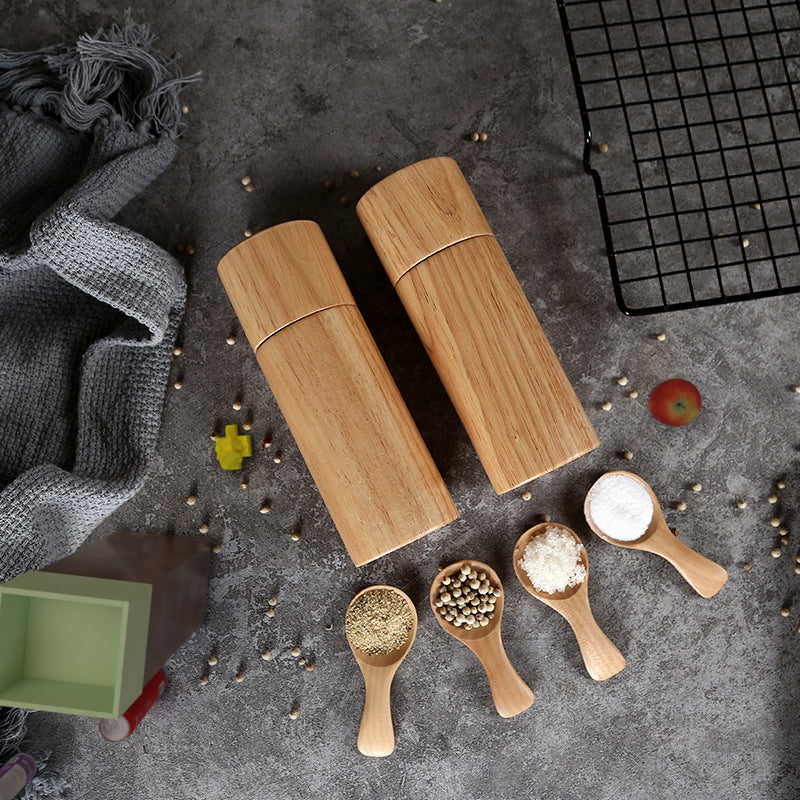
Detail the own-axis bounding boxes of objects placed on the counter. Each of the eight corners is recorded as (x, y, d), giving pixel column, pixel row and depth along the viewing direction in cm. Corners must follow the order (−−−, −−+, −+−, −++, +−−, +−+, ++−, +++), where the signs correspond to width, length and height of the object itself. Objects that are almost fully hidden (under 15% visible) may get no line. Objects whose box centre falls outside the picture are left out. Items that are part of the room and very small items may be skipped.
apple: (695, 392, 114) (722, 392, 104) (673, 432, 114) (698, 436, 104) (655, 370, 114) (677, 369, 104) (633, 411, 114) (653, 413, 104)
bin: (20, 678, 91) (-15, 704, 83) (30, 570, 90) (-4, 586, 83) (142, 693, 90) (117, 720, 83) (152, 584, 90) (129, 601, 83)
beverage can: (163, 661, 118) (125, 701, 103) (172, 695, 118) (136, 740, 103) (132, 669, 118) (90, 710, 103) (141, 703, 118) (101, 749, 103)
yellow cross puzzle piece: (248, 423, 116) (236, 425, 108) (253, 466, 116) (241, 472, 109) (217, 426, 116) (202, 429, 109) (221, 469, 117) (207, 475, 109)
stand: (113, 610, 118) (22, 676, 91) (121, 529, 117) (32, 572, 90) (204, 620, 117) (140, 690, 90) (212, 539, 117) (150, 586, 90)
